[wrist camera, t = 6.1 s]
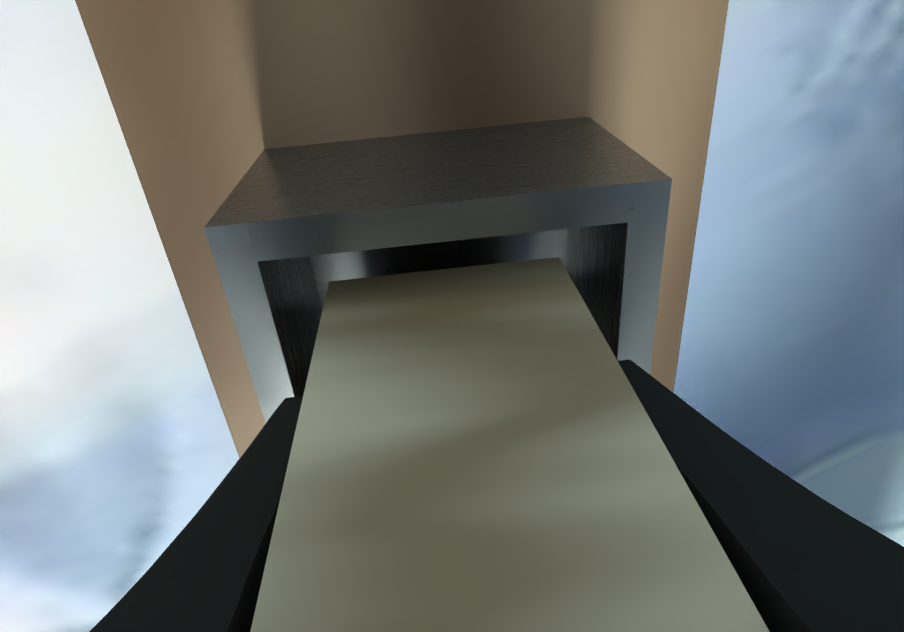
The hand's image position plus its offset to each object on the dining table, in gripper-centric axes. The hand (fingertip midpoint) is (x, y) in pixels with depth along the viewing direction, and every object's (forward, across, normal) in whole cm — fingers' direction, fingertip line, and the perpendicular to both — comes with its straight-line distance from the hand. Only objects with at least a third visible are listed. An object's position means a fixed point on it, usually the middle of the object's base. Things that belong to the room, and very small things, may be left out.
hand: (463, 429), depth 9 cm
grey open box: (+5, 0, 0) cm, 5 cm away
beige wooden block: (+2, 0, 0) cm, 2 cm away
